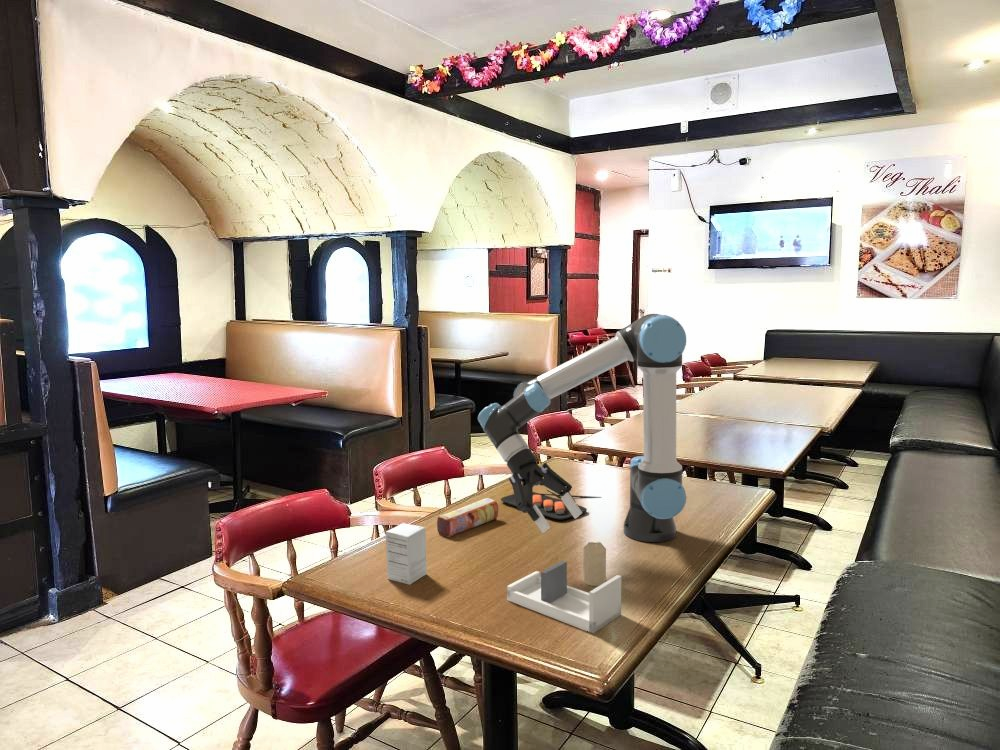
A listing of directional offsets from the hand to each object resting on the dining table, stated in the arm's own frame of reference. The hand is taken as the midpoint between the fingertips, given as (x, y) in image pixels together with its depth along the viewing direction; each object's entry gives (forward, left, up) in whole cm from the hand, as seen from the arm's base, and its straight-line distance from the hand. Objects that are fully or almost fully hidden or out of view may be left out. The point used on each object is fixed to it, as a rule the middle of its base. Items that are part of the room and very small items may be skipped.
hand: (563, 522), depth 173 cm
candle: (0, +9, -13) cm, 16 cm away
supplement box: (+28, -29, -13) cm, 42 cm away
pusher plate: (+16, +9, -12) cm, 21 cm away
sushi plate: (-45, -35, -14) cm, 58 cm away
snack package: (-8, -42, -14) cm, 45 cm away
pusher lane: (+16, +11, -13) cm, 23 cm away
